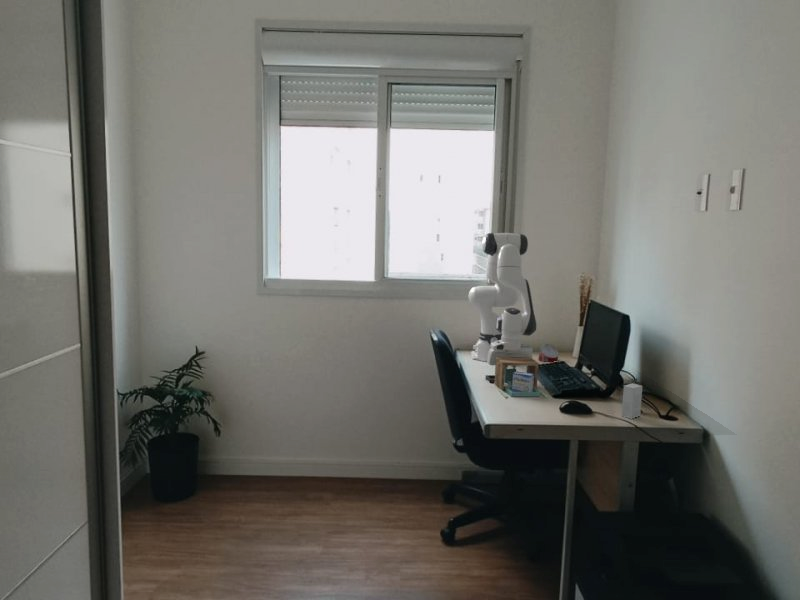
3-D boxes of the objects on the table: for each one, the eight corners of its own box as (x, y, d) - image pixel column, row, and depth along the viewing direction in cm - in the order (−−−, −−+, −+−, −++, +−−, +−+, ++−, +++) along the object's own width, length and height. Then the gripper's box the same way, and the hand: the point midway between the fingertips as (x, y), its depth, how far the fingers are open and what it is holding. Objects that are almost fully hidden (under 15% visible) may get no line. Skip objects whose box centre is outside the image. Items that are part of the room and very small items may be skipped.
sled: (496, 381, 244) (497, 368, 243) (522, 381, 245) (523, 368, 245) (511, 396, 223) (512, 382, 222) (539, 396, 224) (540, 381, 223)
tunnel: (494, 384, 241) (495, 357, 239) (528, 383, 242) (530, 357, 241) (501, 390, 231) (502, 362, 229) (536, 390, 233) (538, 362, 231)
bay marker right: (536, 390, 233) (536, 389, 232) (539, 390, 233) (539, 389, 233) (545, 397, 223) (545, 396, 223) (548, 397, 223) (548, 396, 223)
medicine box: (511, 393, 227) (512, 372, 226) (514, 390, 231) (515, 370, 230) (530, 396, 224) (531, 375, 223) (533, 393, 228) (534, 373, 226)
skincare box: (629, 413, 206) (632, 382, 205) (640, 416, 203) (643, 385, 201) (620, 416, 203) (623, 385, 201) (631, 419, 199) (634, 388, 198)
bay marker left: (498, 390, 231) (498, 389, 230) (501, 390, 231) (501, 389, 231) (505, 398, 221) (505, 396, 221) (508, 398, 221) (508, 396, 221)
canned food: (554, 368, 291) (564, 352, 289) (550, 370, 282) (561, 354, 280) (536, 356, 295) (546, 341, 293) (532, 357, 286) (542, 342, 284)
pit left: (485, 378, 249) (485, 375, 249) (496, 378, 250) (496, 375, 250) (489, 382, 242) (489, 379, 242) (500, 382, 243) (500, 379, 243)
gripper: (530, 343, 248) (528, 372, 249) (487, 343, 245) (485, 372, 247) (535, 346, 241) (533, 376, 243) (490, 346, 239) (489, 376, 241)
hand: (509, 374), depth 245 cm, fingers closed
